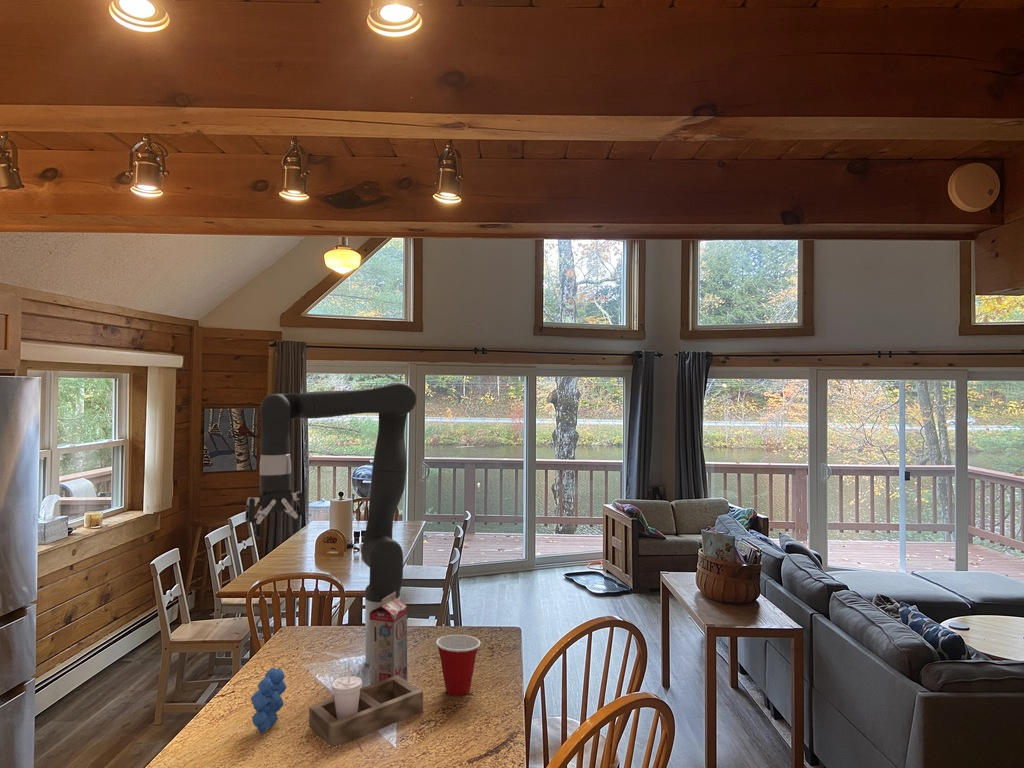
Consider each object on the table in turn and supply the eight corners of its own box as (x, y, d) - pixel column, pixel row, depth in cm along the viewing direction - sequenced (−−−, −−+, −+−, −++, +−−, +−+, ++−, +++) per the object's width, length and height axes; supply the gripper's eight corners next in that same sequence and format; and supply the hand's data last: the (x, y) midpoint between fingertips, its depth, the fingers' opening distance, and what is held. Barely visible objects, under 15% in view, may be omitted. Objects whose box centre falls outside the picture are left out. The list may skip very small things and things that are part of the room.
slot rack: (397, 693, 149) (397, 675, 149) (423, 711, 141) (423, 691, 141) (309, 727, 134) (309, 706, 134) (332, 749, 126) (332, 726, 126)
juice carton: (407, 680, 156) (406, 592, 156) (393, 693, 150) (393, 601, 150) (384, 677, 158) (383, 590, 158) (370, 688, 152) (369, 598, 152)
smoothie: (354, 736, 131) (353, 669, 131) (326, 733, 132) (325, 667, 132) (367, 720, 137) (366, 657, 137) (340, 718, 138) (339, 654, 138)
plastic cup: (490, 689, 151) (489, 639, 151) (457, 705, 143) (456, 653, 143) (460, 675, 158) (459, 628, 159) (427, 690, 151) (426, 641, 151)
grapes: (264, 711, 141) (264, 658, 142) (293, 713, 141) (292, 659, 141) (236, 740, 130) (236, 682, 130) (266, 741, 129) (266, 683, 129)
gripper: (296, 468, 166) (296, 529, 166) (241, 473, 157) (241, 537, 157) (308, 470, 161) (308, 533, 161) (252, 476, 151) (252, 542, 151)
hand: (275, 535), depth 159 cm, fingers open, 8 cm apart
